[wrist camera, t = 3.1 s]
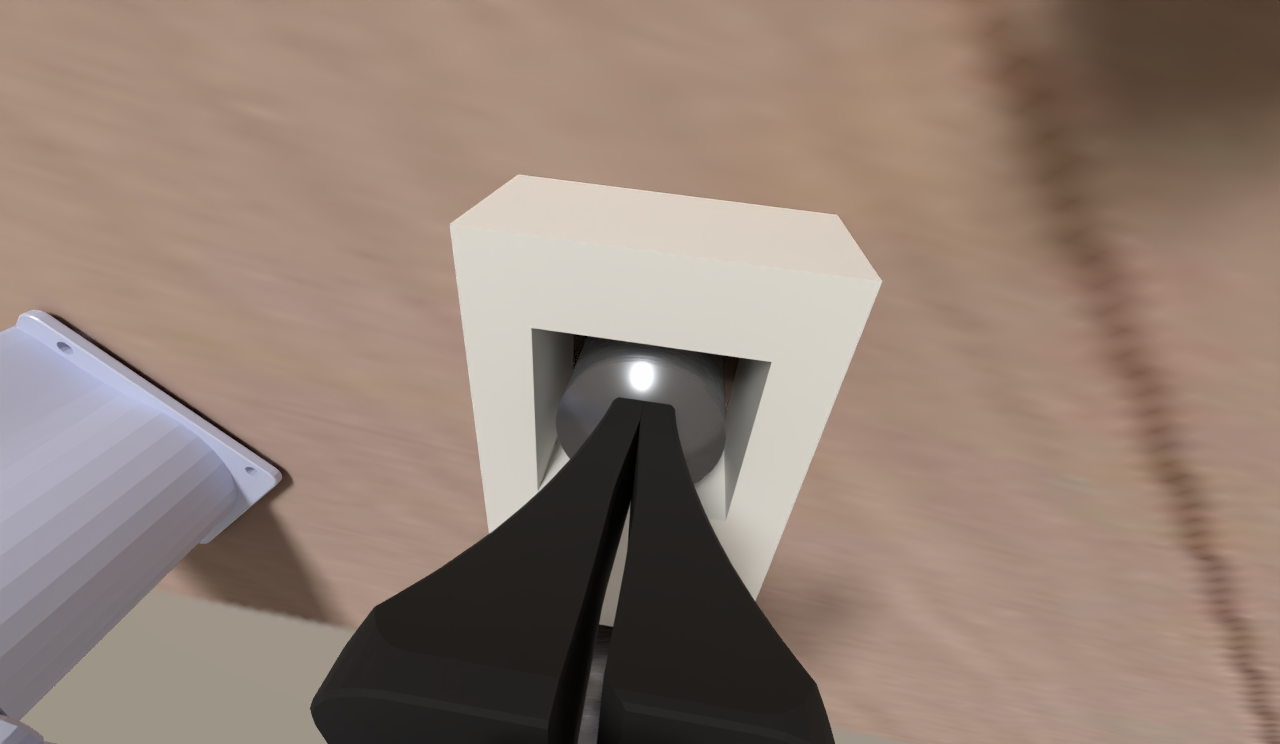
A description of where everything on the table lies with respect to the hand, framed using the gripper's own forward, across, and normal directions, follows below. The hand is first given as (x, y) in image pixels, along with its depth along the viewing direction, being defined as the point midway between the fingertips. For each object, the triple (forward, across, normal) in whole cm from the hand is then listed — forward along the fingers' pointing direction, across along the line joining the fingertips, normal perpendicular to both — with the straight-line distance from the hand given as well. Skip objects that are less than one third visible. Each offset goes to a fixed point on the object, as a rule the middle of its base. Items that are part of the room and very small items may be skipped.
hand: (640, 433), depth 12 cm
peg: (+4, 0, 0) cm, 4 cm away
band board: (+4, 0, +6) cm, 7 cm away
